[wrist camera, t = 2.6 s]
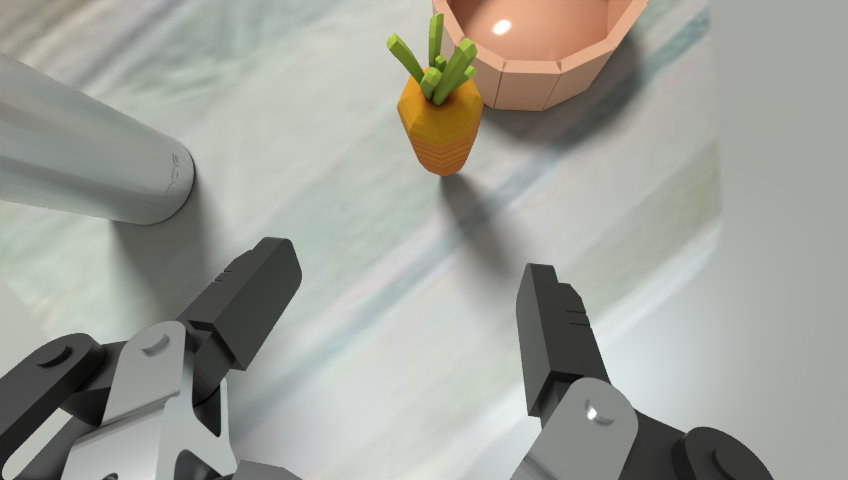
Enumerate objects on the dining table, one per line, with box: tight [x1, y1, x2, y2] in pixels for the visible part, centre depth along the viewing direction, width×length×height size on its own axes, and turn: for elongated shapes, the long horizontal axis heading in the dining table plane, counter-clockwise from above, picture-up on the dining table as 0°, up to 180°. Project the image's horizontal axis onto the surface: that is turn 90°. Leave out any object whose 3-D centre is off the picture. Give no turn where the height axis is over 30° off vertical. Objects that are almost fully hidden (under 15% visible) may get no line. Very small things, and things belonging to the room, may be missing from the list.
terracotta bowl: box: [432, 0, 648, 111], centre depth 26 cm, size 16×16×5 cm
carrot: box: [387, 13, 483, 177], centre depth 20 cm, size 5×5×15 cm
